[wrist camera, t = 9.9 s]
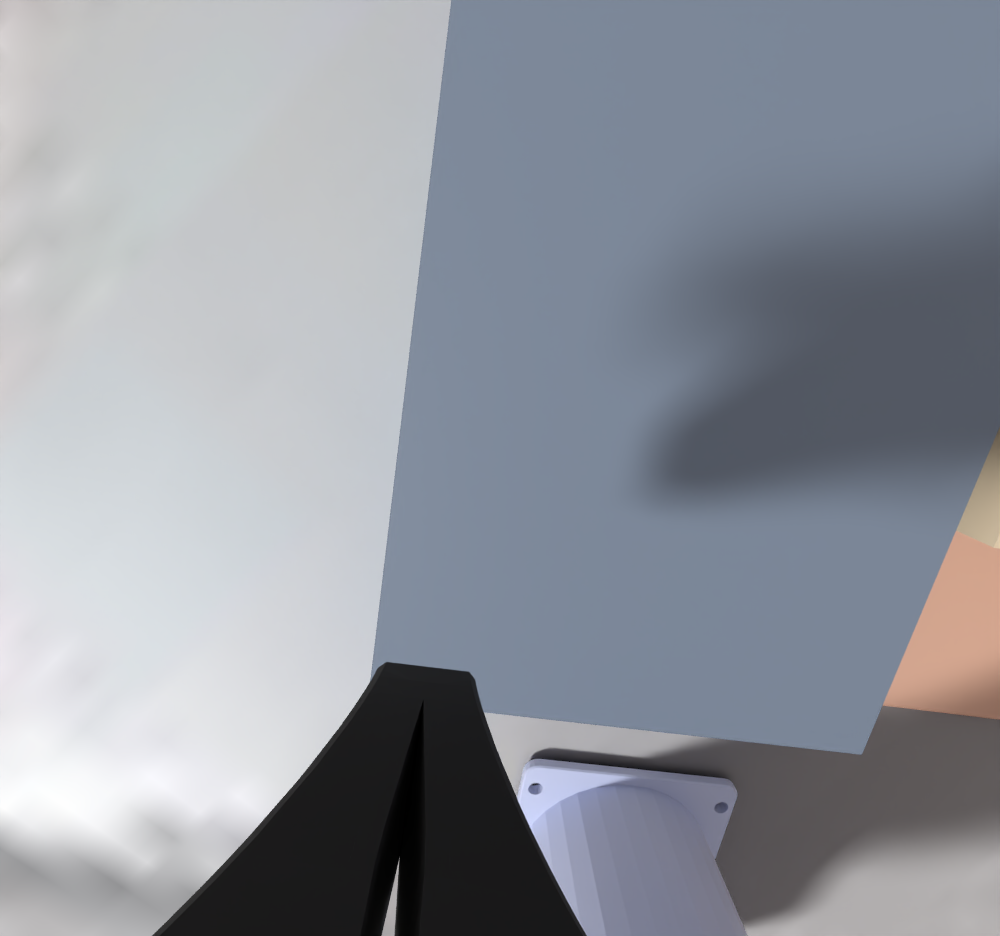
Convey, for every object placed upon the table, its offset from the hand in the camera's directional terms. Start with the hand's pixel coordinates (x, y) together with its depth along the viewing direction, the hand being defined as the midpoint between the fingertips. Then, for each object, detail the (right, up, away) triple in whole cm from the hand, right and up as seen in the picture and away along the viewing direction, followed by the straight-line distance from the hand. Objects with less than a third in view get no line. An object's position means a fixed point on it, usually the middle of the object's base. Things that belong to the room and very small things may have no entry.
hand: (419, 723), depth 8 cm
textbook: (+6, +6, +8) cm, 12 cm away
